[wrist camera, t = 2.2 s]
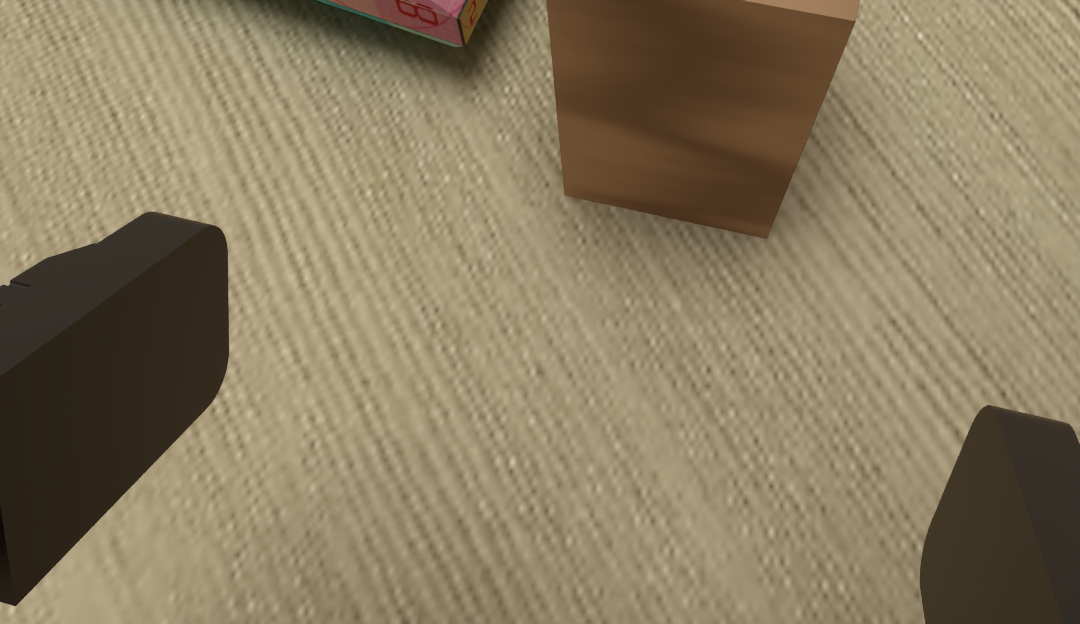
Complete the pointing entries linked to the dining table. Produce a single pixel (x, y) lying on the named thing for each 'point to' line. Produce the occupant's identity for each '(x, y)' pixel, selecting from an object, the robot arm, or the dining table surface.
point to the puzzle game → (422, 16)
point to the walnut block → (691, 101)
